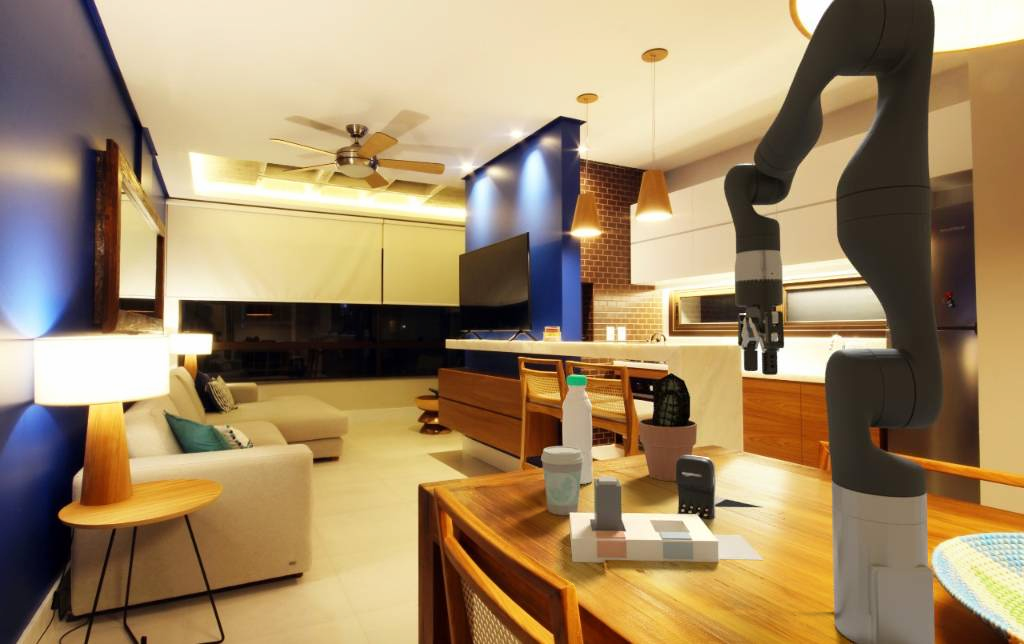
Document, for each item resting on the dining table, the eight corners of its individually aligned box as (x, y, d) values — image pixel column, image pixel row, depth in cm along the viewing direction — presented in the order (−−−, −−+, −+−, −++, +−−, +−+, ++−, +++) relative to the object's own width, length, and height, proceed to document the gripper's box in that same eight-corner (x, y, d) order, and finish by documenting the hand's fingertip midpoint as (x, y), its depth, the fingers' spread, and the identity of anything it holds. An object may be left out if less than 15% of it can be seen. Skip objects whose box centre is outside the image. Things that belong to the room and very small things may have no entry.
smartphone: (717, 500, 114) (717, 496, 114) (796, 518, 103) (796, 513, 103) (701, 508, 109) (701, 504, 109) (782, 528, 98) (782, 522, 98)
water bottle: (557, 479, 130) (556, 375, 130) (582, 475, 133) (581, 373, 133) (572, 486, 124) (571, 377, 124) (598, 483, 127) (597, 375, 127)
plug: (622, 548, 87) (621, 482, 87) (596, 548, 87) (596, 482, 88) (618, 539, 91) (618, 475, 91) (594, 538, 91) (594, 475, 92)
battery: (673, 516, 103) (672, 456, 104) (680, 511, 106) (679, 452, 107) (711, 524, 99) (710, 461, 99) (717, 518, 102) (716, 457, 103)
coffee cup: (534, 513, 106) (533, 452, 106) (551, 501, 113) (551, 443, 114) (575, 520, 102) (574, 456, 102) (590, 507, 109) (589, 447, 110)
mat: (763, 563, 83) (763, 559, 83) (709, 562, 83) (709, 558, 83) (740, 538, 93) (740, 535, 93) (692, 537, 93) (692, 534, 93)
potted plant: (628, 471, 136) (627, 372, 137) (675, 467, 140) (674, 370, 141) (659, 486, 123) (657, 376, 124) (709, 481, 127) (708, 374, 128)
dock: (719, 565, 82) (718, 540, 82) (572, 562, 83) (572, 537, 84) (697, 535, 94) (696, 513, 94) (569, 532, 96) (569, 511, 96)
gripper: (799, 274, 87) (801, 376, 86) (764, 282, 101) (766, 369, 101) (751, 275, 87) (752, 376, 87) (723, 283, 101) (724, 369, 101)
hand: (759, 372), depth 94 cm, fingers open, 8 cm apart
